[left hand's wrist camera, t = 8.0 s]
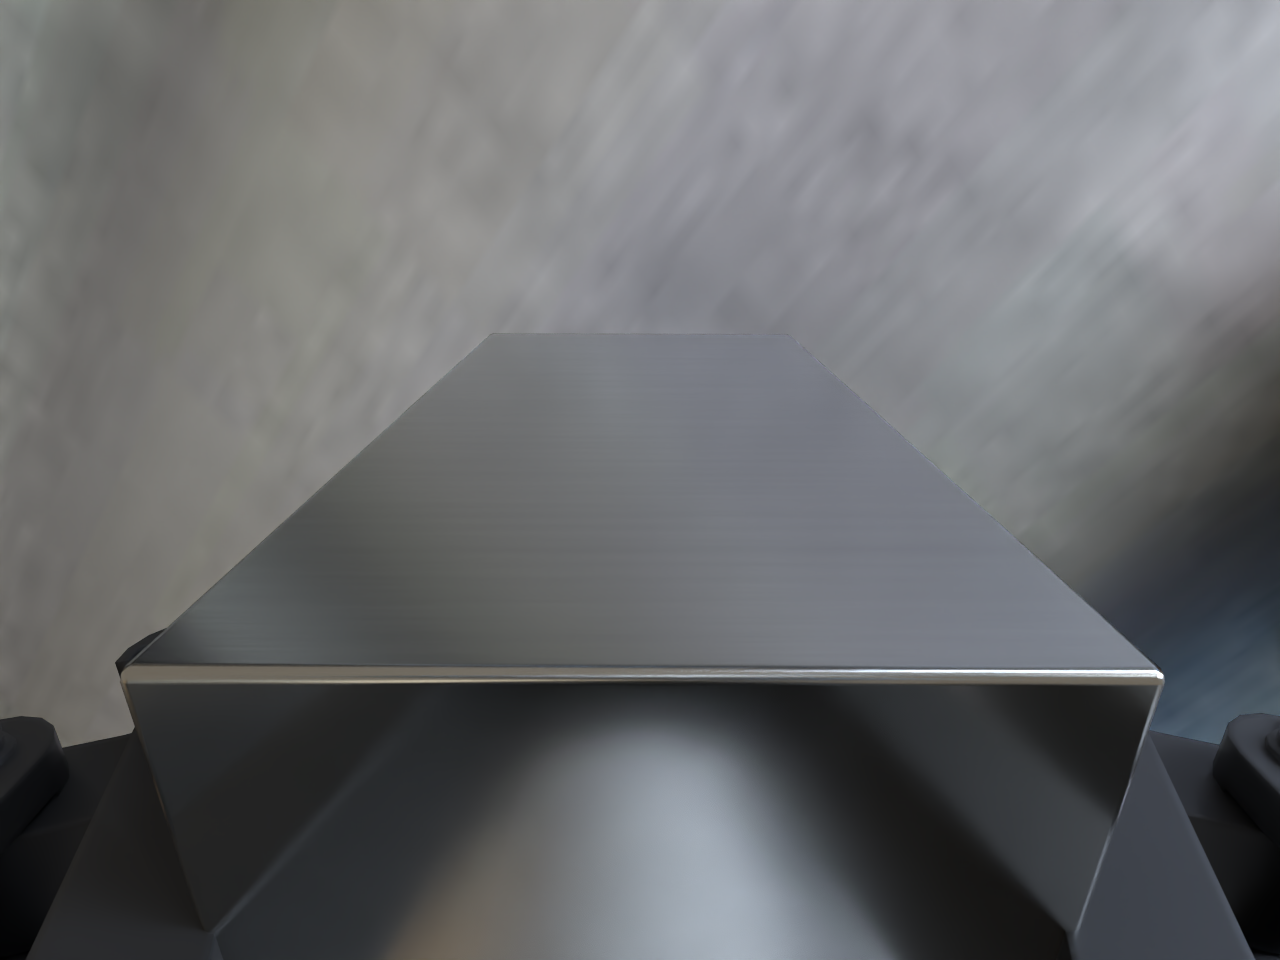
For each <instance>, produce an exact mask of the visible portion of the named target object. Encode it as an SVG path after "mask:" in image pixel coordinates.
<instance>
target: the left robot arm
mask: <svg viewBox="0 0 1280 960" xmlns="http://www.w3.org/2000/svg"><path fill="white" fill-rule="evenodd" d="M165 629H166V628H165ZM165 629H163V630H160V631H158V632H156V633H153V634H151V635H148V636H147V637H145V638H144V639H142V640H141V641H139V642H137V643H136V644H134V645H133V646H131V647H129V648H128V649H127V650H126V651H125V652H124V653H123V655H122V656H121V657H120V658H119V659H118V660H117V661H116V662H115V664H116V667H117V670H118V673H119V676H120V679H121V673H122V671H123V669H124V667H125V666H126V665H127V664H128V663H129V662H130V661H131V660H132V659H133V658H135V657H136V656H137V655H138V654H139V653H140V652H141V651H142V650H143V649H144V648H146V647H147V646H148V645H149V644H150V643H151V642H152V641H153V640H154V639H155V638H157V637H158V636H159V635H160V634H161V633H162V632H163V631H164V630H165ZM0 960H223V958H222V955H221V952H220V949H219V946H218V942H217V939H216V936H215V933H209V932H207V931H205V930H203V929H202V927H201V924H200V921H199V918H198V915H197V912H196V909H195V906H194V903H193V900H192V897H191V894H190V891H189V888H188V885H187V882H186V879H185V876H184V873H183V870H182V867H181V864H180V861H179V857H178V854H177V851H176V848H175V845H174V842H173V839H172V836H171V833H170V830H169V827H168V824H167V821H166V818H165V815H164V812H163V809H162V806H161V803H160V800H159V797H158V794H157V791H156V788H155V785H154V782H153V779H152V776H151V773H150V770H149V767H148V764H147V761H146V758H145V755H144V752H143V749H142V746H141V743H140V740H139V737H138V734H137V731H136V728H134V730H133V732H132V733H130V734H126V735H122V736H117V737H113V738H108V739H103V740H98V741H93V742H88V743H84V744H79V745H74V746H69V747H64V748H62V747H61V744H60V741H59V739H58V736H57V734H56V731H55V729H54V726H53V725H52V724H50V723H49V722H47V721H46V720H44V719H43V718H37V717H24V716H19V717H13V718H7V719H1V720H0ZM1056 960H1280V716H1275V715H1269V714H1263V713H1257V714H1245V715H1239V716H1238V717H1236V718H1235V719H1233V720H1232V721H1230V722H1229V723H1228V725H1227V728H1226V730H1225V733H1224V735H1223V738H1222V741H1221V743H1220V745H1217V744H1212V743H1207V742H1202V741H1197V740H1192V739H1188V738H1183V737H1178V736H1173V735H1168V734H1163V733H1158V732H1155V731H1151V730H1149V732H1148V734H1147V737H1146V740H1145V743H1144V746H1143V749H1142V752H1141V755H1140V758H1139V761H1138V764H1137V767H1136V769H1135V772H1134V775H1133V778H1132V781H1131V784H1130V787H1129V790H1128V793H1127V796H1126V799H1125V802H1124V804H1123V807H1122V810H1121V813H1120V816H1119V819H1118V822H1117V825H1116V828H1115V831H1114V834H1113V837H1112V839H1111V842H1110V845H1109V848H1108V851H1107V854H1106V857H1105V860H1104V863H1103V866H1102V869H1101V872H1100V874H1099V877H1098V880H1097V883H1096V886H1095V889H1094V892H1093V895H1092V898H1091V901H1090V904H1089V907H1088V909H1087V912H1086V915H1085V918H1084V921H1083V924H1082V927H1081V928H1079V929H1077V930H1075V931H1065V934H1064V937H1063V940H1062V944H1061V947H1060V950H1059V953H1058V956H1057V959H1056Z"/></svg>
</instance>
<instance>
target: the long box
mask: <svg viewBox="0 0 1280 960" xmlns="http://www.w3.org/2000/svg"><path fill="white" fill-rule="evenodd" d="M120 683H121V686H122V689H123V692H124V695H125V698H126V701H127V704H128V707H129V710H130V713H131V716H132V719H133V722H134V725H135V728H136V731H137V734H138V737H139V740H140V743H141V746H142V749H143V752H144V755H145V758H146V761H147V764H148V767H149V770H150V773H151V776H152V779H153V782H154V785H155V788H156V791H157V794H158V797H159V800H160V803H161V806H162V809H163V812H164V815H165V818H166V821H167V824H168V827H169V830H170V833H171V836H172V839H173V842H174V845H175V848H176V851H177V854H178V857H179V861H180V864H181V867H182V870H183V873H184V876H185V879H186V882H187V885H188V888H189V891H190V894H191V897H192V900H193V903H194V906H195V909H196V912H197V915H198V918H199V921H200V924H201V927H202V929H203V930H205V931H207V932H209V933H215V936H216V939H217V942H218V946H219V949H220V952H221V955H222V958H223V960H1056V959H1057V956H1058V953H1059V950H1060V947H1061V944H1062V940H1063V937H1064V934H1065V931H1075V930H1077V929H1079V928H1081V927H1082V924H1083V921H1084V918H1085V915H1086V912H1087V909H1088V907H1089V904H1090V901H1091V898H1092V895H1093V892H1094V889H1095V886H1096V883H1097V880H1098V877H1099V874H1100V872H1101V869H1102V866H1103V863H1104V860H1105V857H1106V854H1107V851H1108V848H1109V845H1110V842H1111V839H1112V837H1113V834H1114V831H1115V828H1116V825H1117V822H1118V819H1119V816H1120V813H1121V810H1122V807H1123V804H1124V802H1125V799H1126V796H1127V793H1128V790H1129V787H1130V784H1131V781H1132V778H1133V775H1134V772H1135V769H1136V767H1137V764H1138V761H1139V758H1140V755H1141V752H1142V749H1143V746H1144V743H1145V740H1146V737H1147V734H1148V732H1149V729H1150V726H1151V723H1152V720H1153V717H1154V714H1155V711H1156V708H1157V705H1158V702H1159V699H1160V697H1161V694H1162V691H1163V688H1164V685H1165V679H1164V674H1163V672H1162V670H1161V668H1160V667H1159V666H1158V665H1157V664H1156V663H1154V662H1153V661H1152V660H1151V659H1150V658H1149V657H1148V656H1147V655H1146V654H1144V653H1143V652H1142V651H1141V650H1140V649H1139V648H1138V647H1137V646H1136V645H1134V644H1133V643H1132V642H1131V641H1130V640H1129V639H1128V638H1127V637H1126V636H1124V635H1123V634H1122V633H1121V632H1120V631H1119V630H1118V629H1117V628H1115V627H1114V626H1113V625H1112V624H1111V623H1110V622H1109V621H1108V620H1107V619H1105V618H1104V617H1103V616H1102V615H1101V614H1100V613H1099V612H1098V611H1097V610H1095V609H1094V608H1093V607H1092V606H1091V605H1090V604H1089V603H1088V602H1087V601H1085V600H1084V599H1083V598H1082V597H1081V596H1080V595H1079V594H1078V593H1077V592H1075V591H1074V590H1073V589H1072V588H1071V587H1070V586H1069V585H1068V584H1067V583H1065V582H1064V581H1063V580H1062V579H1061V578H1060V577H1059V576H1058V575H1057V574H1055V573H1054V572H1053V571H1052V570H1051V569H1050V568H1049V567H1048V566H1047V565H1045V564H1044V563H1043V562H1042V561H1041V560H1040V559H1039V558H1038V557H1036V556H1035V555H1034V554H1033V553H1032V552H1031V551H1030V550H1029V549H1028V548H1026V547H1025V546H1024V545H1023V544H1022V543H1021V542H1020V541H1019V540H1018V539H1016V538H1015V537H1014V536H1013V535H1012V534H1011V533H1010V532H1009V531H1008V530H1006V529H1005V528H1004V527H1003V526H1002V525H1001V524H1000V523H999V522H998V521H996V520H995V519H994V518H993V517H992V516H991V515H990V514H989V513H988V512H986V511H985V510H984V509H983V508H982V507H981V506H980V505H979V504H978V503H976V502H975V501H974V500H973V499H972V498H971V497H970V496H969V495H968V494H966V493H965V492H964V491H963V490H962V489H961V488H960V487H959V486H958V485H956V484H955V483H954V482H953V481H952V480H951V479H950V478H949V477H947V476H946V475H945V474H944V473H943V472H942V471H941V470H940V469H939V468H937V467H936V466H935V465H934V464H933V463H932V462H931V461H930V460H929V459H927V458H926V457H925V456H924V455H923V454H922V453H921V452H920V451H919V450H917V449H916V448H915V447H914V446H913V445H912V444H911V443H910V442H909V441H907V440H906V439H905V438H904V437H903V436H902V435H901V434H900V433H899V432H897V431H896V430H895V429H894V428H893V427H892V426H891V425H890V424H889V423H887V422H886V421H885V420H884V419H883V418H882V417H881V416H880V415H879V414H877V413H876V412H875V411H874V410H873V409H872V408H871V407H870V406H868V405H867V404H866V403H865V402H864V401H863V400H862V399H861V398H860V397H858V396H857V395H856V394H855V393H854V392H853V391H852V390H851V389H850V388H848V387H847V386H846V385H845V384H844V383H843V382H842V381H841V380H840V379H838V378H837V377H836V376H835V375H834V374H833V373H832V372H831V371H830V370H828V369H827V368H826V367H825V366H824V365H823V364H822V363H821V362H820V361H818V360H817V359H816V358H815V357H814V356H813V355H812V354H811V353H810V352H808V351H807V350H806V349H805V348H804V347H803V346H802V345H801V344H800V343H798V342H797V341H796V340H795V339H794V338H793V337H792V336H791V335H788V334H511V333H493V334H490V335H489V336H488V337H487V338H486V339H484V340H483V341H482V342H481V343H480V344H479V345H478V346H477V347H476V348H475V349H473V350H472V351H471V352H470V353H469V354H468V355H467V356H466V357H465V358H464V359H462V360H461V361H460V362H459V363H458V364H457V365H456V366H455V367H454V368H453V369H451V370H450V371H449V372H448V373H447V374H446V375H445V376H444V377H443V378H442V379H440V380H439V381H438V382H437V383H436V384H435V385H434V386H433V387H432V388H431V389H429V390H428V391H427V392H426V393H425V394H424V395H423V396H422V397H421V398H420V399H418V400H417V401H416V402H415V403H414V404H413V405H412V406H411V407H410V408H409V409H407V410H406V411H405V412H404V413H403V414H402V415H401V416H400V417H399V418H398V419H396V420H395V421H394V422H393V423H392V424H391V425H390V426H389V427H388V428H387V429H385V430H384V431H383V432H382V433H381V434H380V435H379V436H378V437H377V438H376V439H374V440H373V441H372V442H371V443H370V444H369V445H368V446H367V447H366V448H365V449H363V450H362V451H361V452H360V453H359V454H358V455H357V456H356V457H355V458H354V459H352V460H351V461H350V462H349V463H348V464H347V465H346V466H345V467H344V468H343V469H341V470H340V471H339V472H338V473H337V474H336V475H335V476H334V477H333V478H331V479H330V480H329V481H328V482H327V483H326V484H325V485H324V486H323V487H322V488H320V489H319V490H318V491H317V492H316V493H315V494H314V495H313V496H312V497H311V498H309V499H308V500H307V501H306V502H305V503H304V504H303V505H302V506H301V507H300V508H298V509H297V510H296V511H295V512H294V513H293V514H292V515H291V516H290V517H289V518H287V519H286V520H285V521H284V522H283V523H282V524H281V525H280V526H279V527H278V528H276V529H275V530H274V531H273V532H272V533H271V534H270V535H269V536H268V537H267V538H265V539H264V540H263V541H262V542H261V543H260V544H259V545H258V546H257V547H256V548H254V549H253V550H252V551H251V552H250V553H249V554H248V555H247V556H246V557H245V558H243V559H242V560H241V561H240V562H239V563H238V564H237V565H236V566H235V567H234V568H232V569H231V570H230V571H229V572H228V573H227V574H226V575H225V576H224V577H223V578H221V579H220V580H219V581H218V582H217V583H216V584H215V585H214V586H213V587H212V588H210V589H209V590H208V591H207V592H206V593H205V594H204V595H203V596H202V597H201V598H199V599H198V600H197V601H196V602H195V603H194V604H193V605H192V606H191V607H190V608H188V609H187V610H186V611H185V612H184V613H183V614H182V615H181V616H180V617H179V618H177V619H176V620H175V621H174V622H173V623H172V624H171V625H170V626H169V627H168V628H166V629H165V630H164V631H163V632H162V633H161V634H160V635H159V636H158V637H157V638H155V639H154V640H153V641H152V642H151V643H150V644H149V645H148V646H147V647H146V648H144V649H143V650H142V651H141V652H140V653H139V654H138V655H137V656H136V657H135V658H133V659H132V660H131V661H130V662H129V663H128V664H127V665H126V666H125V667H124V669H123V671H122V673H121V680H120Z"/></svg>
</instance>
